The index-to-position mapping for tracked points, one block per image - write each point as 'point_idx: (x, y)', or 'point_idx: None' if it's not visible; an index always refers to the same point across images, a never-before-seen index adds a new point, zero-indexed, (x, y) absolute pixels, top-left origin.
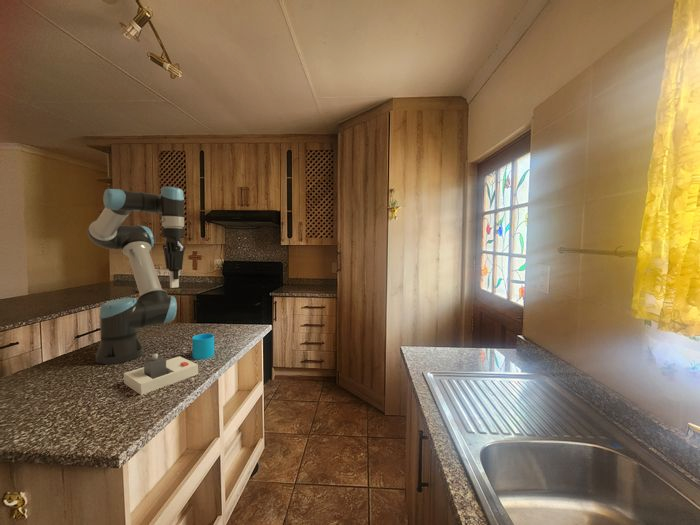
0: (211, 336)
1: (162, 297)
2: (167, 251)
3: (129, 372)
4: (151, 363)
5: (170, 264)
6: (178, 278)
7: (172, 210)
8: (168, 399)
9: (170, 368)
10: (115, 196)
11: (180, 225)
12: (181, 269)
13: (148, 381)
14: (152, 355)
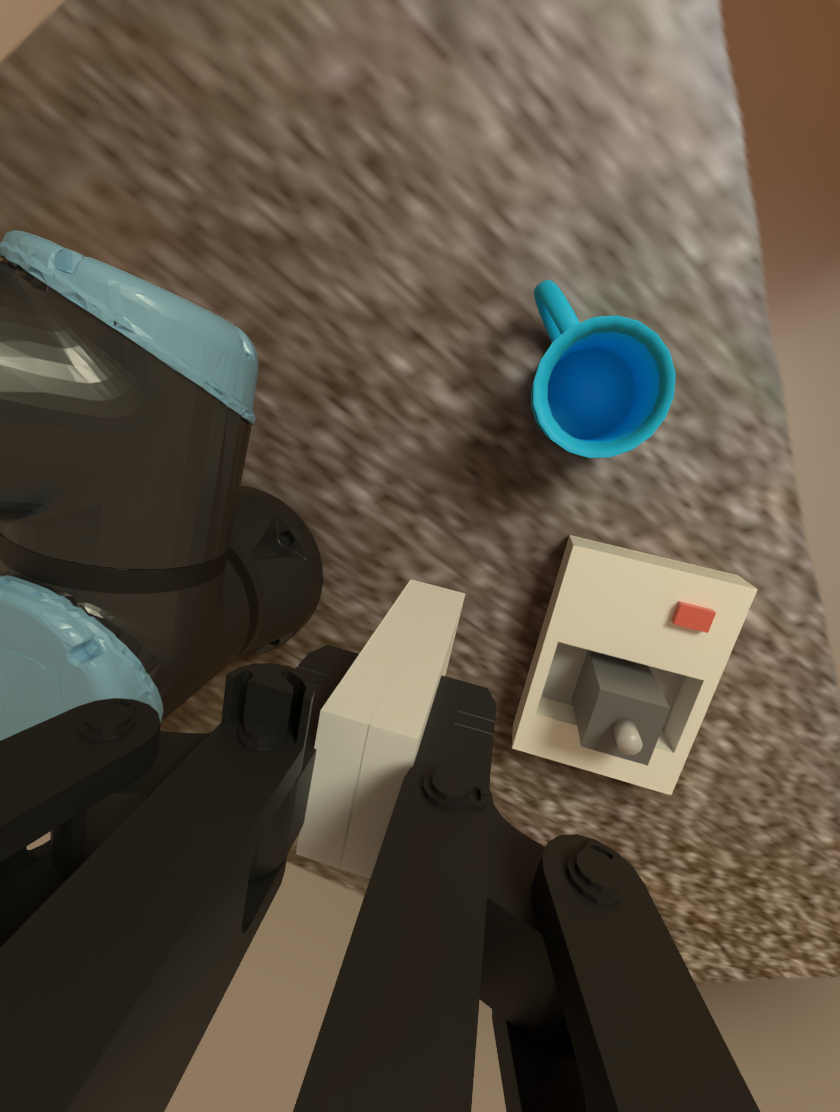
0: (656, 361)
1: (77, 398)
2: None
3: (526, 738)
4: (646, 760)
5: (207, 1019)
6: (446, 654)
7: None
8: (786, 763)
9: (658, 662)
10: None
11: None
12: (610, 853)
13: (677, 772)
14: (627, 753)
